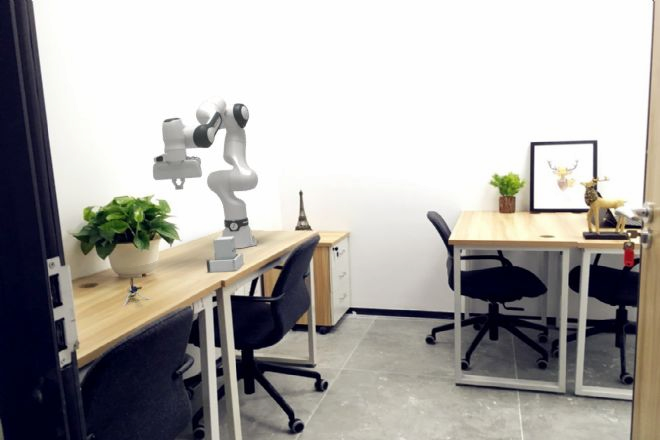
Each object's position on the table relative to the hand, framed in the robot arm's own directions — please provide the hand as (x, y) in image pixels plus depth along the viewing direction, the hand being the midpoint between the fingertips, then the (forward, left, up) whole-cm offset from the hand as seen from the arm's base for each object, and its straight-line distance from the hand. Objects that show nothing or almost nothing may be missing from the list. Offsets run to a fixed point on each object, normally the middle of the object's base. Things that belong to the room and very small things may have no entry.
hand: (179, 189), depth 212 cm
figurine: (+50, -1, -34) cm, 60 cm away
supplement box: (+9, +20, -33) cm, 40 cm away
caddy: (+9, +19, -33) cm, 39 cm away
